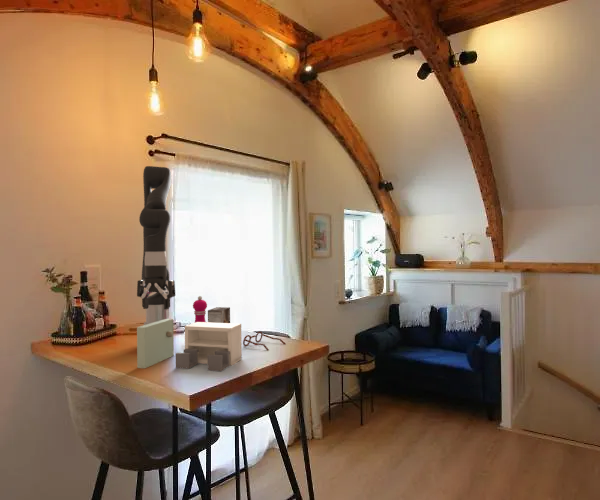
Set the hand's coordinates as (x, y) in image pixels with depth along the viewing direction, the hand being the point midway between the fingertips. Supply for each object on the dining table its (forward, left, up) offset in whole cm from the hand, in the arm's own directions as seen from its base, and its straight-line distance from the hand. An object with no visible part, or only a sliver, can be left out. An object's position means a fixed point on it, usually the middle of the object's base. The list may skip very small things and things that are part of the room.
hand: (156, 308), depth 155 cm
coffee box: (+13, +25, -19) cm, 34 cm away
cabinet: (+20, +2, -19) cm, 28 cm away
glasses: (+30, +33, -20) cm, 48 cm away
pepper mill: (0, +33, -19) cm, 38 cm away
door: (0, 0, -19) cm, 19 cm away
